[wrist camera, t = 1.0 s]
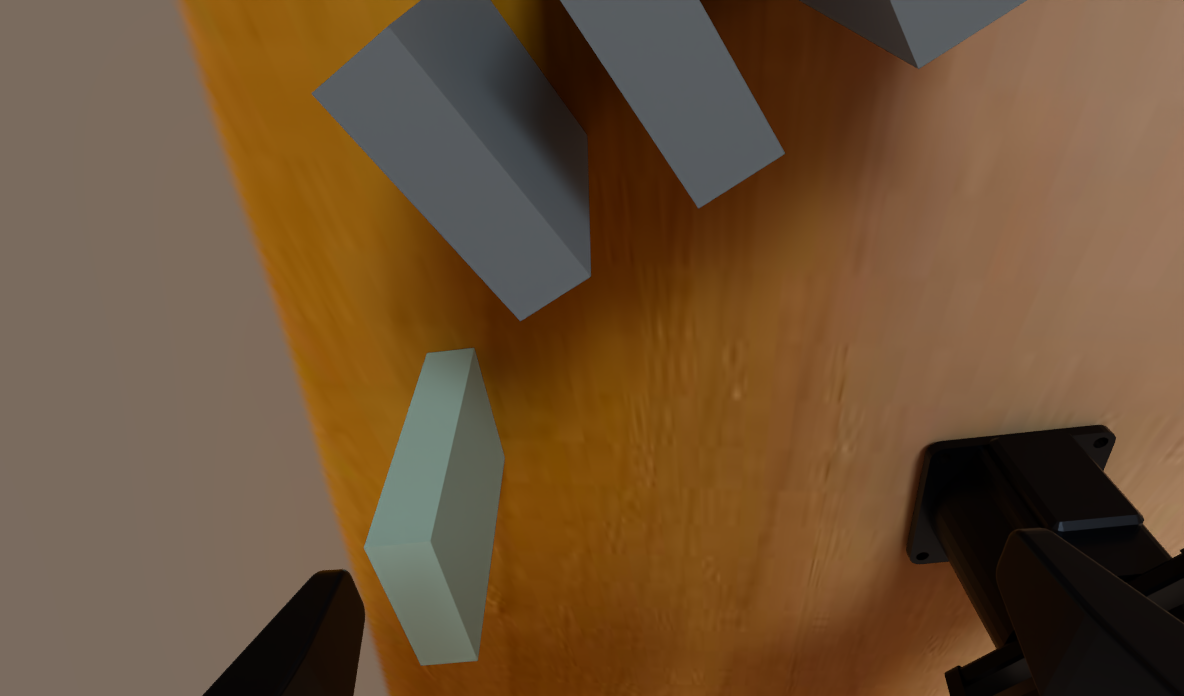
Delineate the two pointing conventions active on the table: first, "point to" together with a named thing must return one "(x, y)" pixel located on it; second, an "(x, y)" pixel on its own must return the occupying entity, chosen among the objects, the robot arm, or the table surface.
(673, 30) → the domino
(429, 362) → the sage domino
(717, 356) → the table surface
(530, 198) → the domino
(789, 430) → the table surface
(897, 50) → the domino
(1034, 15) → the table surface
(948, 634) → the table surface
